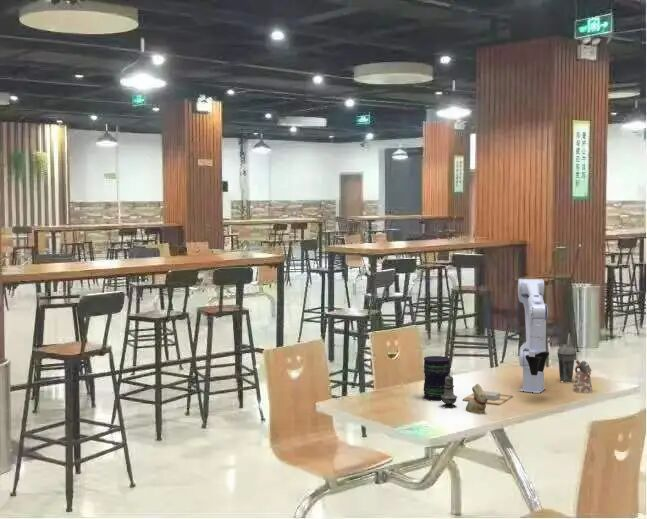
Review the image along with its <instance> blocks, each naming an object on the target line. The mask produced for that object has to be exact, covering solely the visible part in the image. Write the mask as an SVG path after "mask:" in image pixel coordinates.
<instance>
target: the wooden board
mask: <svg viewBox="0 0 647 519" xmlns="http://www.w3.org/2000/svg"><path fill="white" fill-rule="evenodd" d="M510 398H511V399H512V398H514V396H513V394H512V395H511V394H502V393H500V398H498V399H496V400H487V402H486V403H485V404H486V405H493V406H502V404H504V403H505V401H506V402H508V401H509V400H510ZM472 399H474V393H473V392H472V394H469V395H467V396H466V397H464V398H462V402H467V403H468V402H469V401H470V400H472Z"/></svg>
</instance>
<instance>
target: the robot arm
mask: <svg viewBox="0 0 647 519" xmlns="http://www.w3.org/2000/svg"><path fill="white" fill-rule="evenodd" d="M517 280H518V281H517V297H518V302H519V303H521V304H522V305H523V308H524V318H525V319H524V320H525V343H523V344H522V345H521V346H520V347H519V350H518V351H519V354H518V360H519V361H518V362H519V366H520V367H521V368H522V388H520V389H519V390H518V391H519V392H523V391H524V393H532V392H533V393H534V394H540V392H541V393H542V392H544V391H545V390H546V389H547V387H545V386H544V385H545V372H544V369H545V367H547V358H548V357H549V354H550V352H549V351H547V347H546V346H547V345H546V343H547V341H546V338H547V336H546V335H547V334H546V333H547V320H548V317H549V316H548V315H549V309H548V304H547V303H545V301H544V294H545V281H544V279H543V278H540V279H536V278H535V279H531V278H530V279H529V278H528V279H527V278H526V279H525V278H519V279H517ZM544 389H545V390H544ZM543 390H544V391H543Z"/></svg>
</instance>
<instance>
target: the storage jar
mask: <svg viewBox="0 0 647 519" xmlns="http://www.w3.org/2000/svg"><path fill="white" fill-rule="evenodd" d="M423 361H424V362H423V374H424V382H423V399H424V400H426V401H431V400H432V402H442V401H441V400H442V398H441V396H442V395H444V393H445V387H444V385H445V377H446V376H448V374H450V375H451V358H450V357H448V356H442V355H429V356H428V355H427V356H426V357H423Z"/></svg>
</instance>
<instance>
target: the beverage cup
mask: <svg viewBox="0 0 647 519" xmlns="http://www.w3.org/2000/svg"><path fill="white" fill-rule="evenodd" d="M567 336H568V337H567V343H562V344H561V345H560V346H558V347H559V348H558V349H557V359H558V369H559V370H558V372H559V379H560V381H563V382H573V376H574V375H573V374H574V369H575V368H574V365H575V359H576V355H577V354H576V350H575V348H574V346H573V345H572V344H570V337H571V333H570V332H569V333H568V335H567Z"/></svg>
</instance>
